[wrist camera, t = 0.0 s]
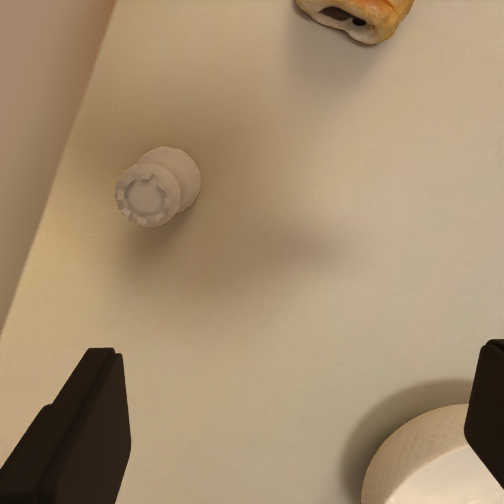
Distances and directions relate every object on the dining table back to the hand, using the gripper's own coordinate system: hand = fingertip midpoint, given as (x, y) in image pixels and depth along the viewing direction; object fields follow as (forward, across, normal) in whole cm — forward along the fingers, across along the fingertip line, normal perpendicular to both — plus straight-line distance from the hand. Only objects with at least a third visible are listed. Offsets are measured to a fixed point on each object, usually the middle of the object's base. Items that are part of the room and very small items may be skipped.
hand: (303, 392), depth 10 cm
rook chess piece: (+18, +6, -3) cm, 20 cm away
